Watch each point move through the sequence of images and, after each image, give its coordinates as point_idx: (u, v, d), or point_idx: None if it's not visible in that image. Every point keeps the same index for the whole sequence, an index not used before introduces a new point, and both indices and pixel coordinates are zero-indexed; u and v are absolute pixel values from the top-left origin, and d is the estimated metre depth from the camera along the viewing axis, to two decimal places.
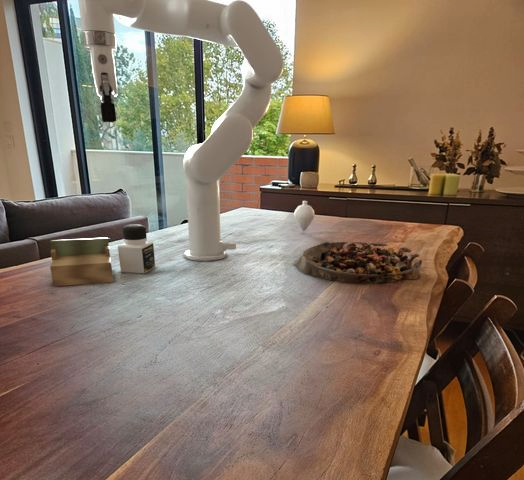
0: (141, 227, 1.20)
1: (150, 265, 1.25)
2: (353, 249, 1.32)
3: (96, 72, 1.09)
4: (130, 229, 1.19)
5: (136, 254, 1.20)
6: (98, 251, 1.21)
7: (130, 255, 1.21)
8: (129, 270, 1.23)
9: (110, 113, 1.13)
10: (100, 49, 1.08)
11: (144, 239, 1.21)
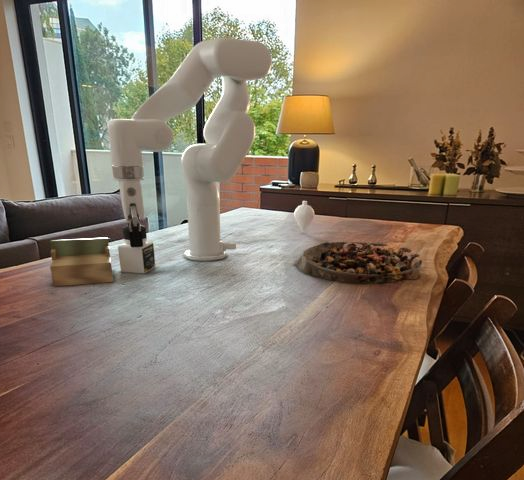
0: (141, 227, 1.20)
1: (150, 265, 1.25)
2: (353, 249, 1.32)
3: (125, 203, 1.14)
4: None
5: (136, 254, 1.20)
6: (98, 251, 1.21)
7: (130, 255, 1.21)
8: (129, 270, 1.23)
9: (137, 240, 1.18)
10: (129, 182, 1.13)
11: (144, 239, 1.21)
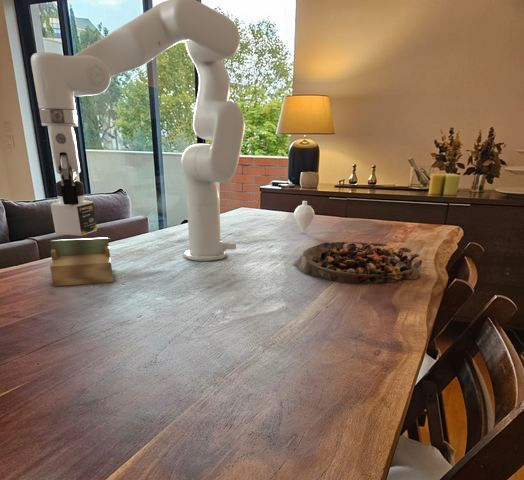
0: (76, 182, 1.06)
1: (90, 227, 1.11)
2: (353, 249, 1.32)
3: (54, 152, 0.99)
4: None
5: (71, 212, 1.06)
6: (98, 251, 1.21)
7: (65, 214, 1.07)
8: (65, 232, 1.09)
9: (71, 196, 1.04)
10: (58, 127, 0.98)
11: (81, 196, 1.07)
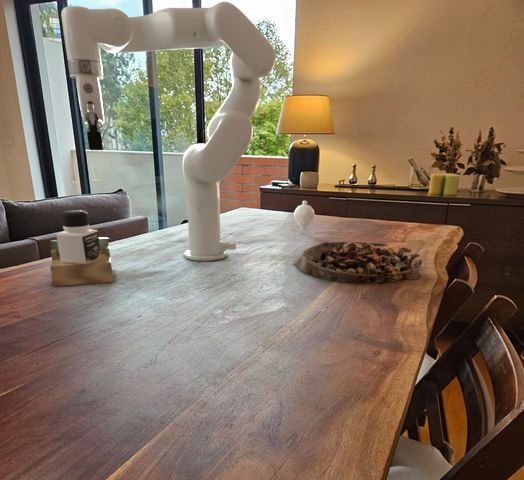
0: (81, 213, 1.09)
1: (94, 255, 1.14)
2: (353, 249, 1.32)
3: (82, 101, 1.07)
4: (68, 215, 1.07)
5: (76, 242, 1.09)
6: None
7: (70, 244, 1.10)
8: (70, 260, 1.12)
9: (96, 142, 1.11)
10: (85, 78, 1.06)
11: (85, 226, 1.10)
